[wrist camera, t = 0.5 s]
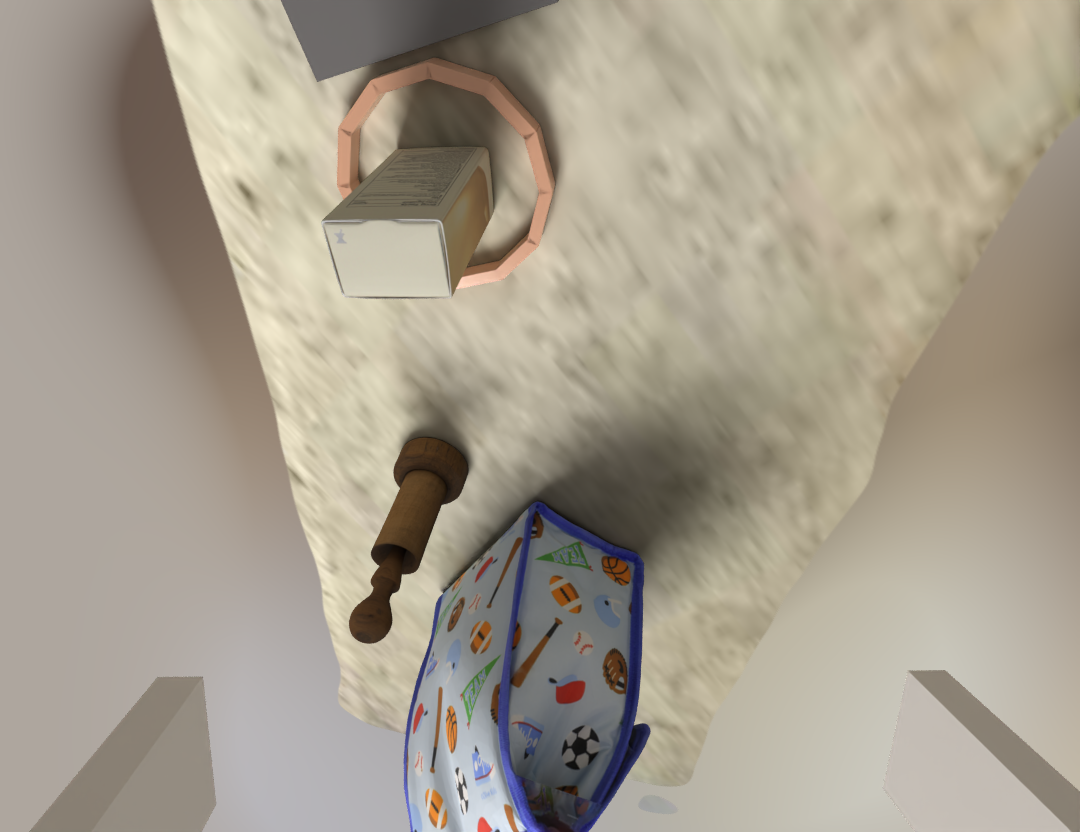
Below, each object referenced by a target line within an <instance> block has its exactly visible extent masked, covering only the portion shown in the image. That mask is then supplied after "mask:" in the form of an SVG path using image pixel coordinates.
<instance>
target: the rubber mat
mask: <svg viewBox="0 0 1080 832" xmlns="http://www.w3.org/2000/svg"><path fill="white" fill-rule="evenodd" d="M558 1H559V0H281V2H282V4H283V6H284V9H285V11H286V13H287V15H288V17H289V20H290V22H291V24H292V26H293V29H294V31H295V33H296V35H297V38H298V40H299V42H300V44H301V46H302V49H303V51H304V53H305V55H306V58H307V60H308V62H309V64H310V67H311V69H312V71H313V73H314V75H315V78H316V80H317V82H318V81H321V80H324V79H327V78H330V77H333V76H336V75H340V74H343V73H346V72H349V71H352V70H355V69H358V68H361V67H364V66H367V65H370V64H373V63H376V62H379V61H382V60H385V59H388V58H391V57H394V56H397V55H400V54H403V53H406V52H409V51H412V50H415V49H418V48H421V47H424V46H427V45H430V44H433V43H436V42H439V41H442V40H445V39H448V38H451V37H454V36H457V35H460V34H463V33H466V32H469V31H472V30H475V29H478V28H481V27H484V26H487V25H490V24H493V23H496V22H499V21H502V20H505V19H508V18H511V17H514V16H517V15H520V14H523V13H526V12H529V11H532V10H535V9H538V8H541V7H544V6H547V5H550V4H553V3H556V2H558Z"/></svg>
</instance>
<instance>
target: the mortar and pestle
mask: <svg viewBox="0 0 1080 832" xmlns="http://www.w3.org/2000/svg"><path fill="white" fill-rule="evenodd" d="M467 475H468V466H467V463H466V461H465V459H464V458H463V456H462V454H461V453H460V452H459V451H458V450H457V449H455V448H454V447H453V446H451V445H450V444H448V443H446V442H443V441H441V440H438V439H434V438H417V439H413V440H411V441H409V442H408V443H406V444H405V446H404V447H403V448H402V450H401V452H400V455H399V457H398V459H397V461H396V464H395V466H394V478H395V481H396V483H397V485H398V486H399V487H400V490H399V492H398V494H397V497H396V499H395V501H394V503H393V506H392V508H391V510H390V512H389V514H388V516H387V519H386V521H385V523H384V525H383V527H382V529H381V532H380V534H379V536H378V538H377V540H376V542H375V544H374V546H373V549H372V551H371V556H372V559H373V560H374V562H375V563H376V564H377V565H379V566H380V567H379V568H378V569H377V570H376V572H375V573H374V575H373V577H372V578H371V584H372V586H373V587H374V588H373V592H372V593H371V595H370V596H369V597H367V598H366V599H365V600H363V601H362V602H361V603H360V604H358V605H357V606H356V607H355V609H354V610H353V612H352V614H351V616H350V620H349V628H350V632H351V634H352V636H353V637H354V638H355V639H357V640H358V641H360V642H362V643H368V644H370V643H376V642H378V641H380V640H382V639H383V638H384V637H385V636H386V635H387V634H388V632H389V630H390V628H391V626H392V612H391V607H390V602H389V600H390V597H391V595H392V593H396V592H397V591H398V590H399V588H400V584H401V577H402V574H411V573H414V572H416V571H417V569H418V568H419V565H420V563H421V560H422V557H423V554H424V551H425V548H426V545H427V543H428V540H429V537H430V534H431V532H432V529H433V526H434V524H435V521H436V518H437V516H438V513H439V511H440V508H441V505H443V504H448V503H450V502H452V501H454V500H455V499H457V498H458V497H459V495H460V494H461V492H462V489H463V487H464V484H465V481H466V478H467Z"/></svg>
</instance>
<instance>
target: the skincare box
mask: <svg viewBox="0 0 1080 832" xmlns="http://www.w3.org/2000/svg"><path fill="white" fill-rule="evenodd" d="M493 212H494V208H493V193H492V180H491V170H490V159H489V152H488V149H487V148H485V147H431V148H411V149H397V150H395V151H394V152H393V153H392V154H391V155H390V156H389V157H388V158H387V159H386V160H385V161H384V162H383V163H382V164H381V165H380V166H379V167H377V168H376V169H375V170H374V171H373V172H372V173H371V174H370V175H369V176H368V177H367V178H366V179H365V180H364V181H363V182H362V183H361V184H360V185H359V186H358V187H357V188H356V189H354V190H353V191H352V192H351V193H350V194H349V195H348V196H347V197H346V198H345V199H344V200H343V201H342V202H341V203H340V204H339V205H338V206H337V207H336V208H335V209H334V210H333V211H332V212H331V213H329V214H328V215H327V216H326V217H325V218H324V219H323V220H322V222H321V223H322V227H323V231H324V234H325V238H326V242H327V245H328V249H329V253H330V256H331V260H332V263H333V267H334V270H335V274H336V277H337V280H338V283H339V285H340V289H341V292H342V295H343V296H344V297H349V298H365V299H439V298H451V297H452V296H453V294H454V292H455V290H456V288H457V286H458V284H459V282H460V280H461V278H462V276H463V274H464V271H465V269H466V268H467V265H468V263H469V261H470V259H471V257H472V255H473V253H474V251H475V249H476V247H477V245H478V243H479V241H480V239H481V237H482V235H483V233H484V231H485V229H486V227H487V225H488V223H489V221H490V219H491V217H492V215H493Z"/></svg>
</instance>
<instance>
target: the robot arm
mask: <svg viewBox="0 0 1080 832" xmlns="http://www.w3.org/2000/svg"><path fill="white" fill-rule="evenodd" d="M883 789H884V791H885V792H886V793H887V795H888V796H889V797H890V799H891V800H892V801H893V803H894V804H895V805H896V807H897V808H898V809H899V811H900V812H901V813H902V815H903V816H904V818H905V819H906V820H907V821H908V823H909V824H910V826H911V827H912V828H913V830H914V831H915V832H1080V791H1079V790H1078V789H1076V788H1075V787H1074V786H1073V785H1072V784H1071V783H1070V782H1069V781H1067V780H1066V779H1065V778H1064V777H1063V776H1062V775H1061V774H1060V773H1059V772H1058V771H1056V770H1055V769H1054V768H1053V767H1052V766H1051V765H1050V764H1049V763H1048V762H1046V761H1045V760H1044V759H1043V758H1042V757H1041V756H1040V755H1039V754H1038V753H1036V752H1035V751H1034V750H1033V749H1032V748H1031V747H1030V746H1029V745H1027V744H1026V743H1025V742H1024V741H1023V740H1022V739H1021V738H1020V737H1019V736H1018V735H1016V734H1015V733H1014V732H1013V731H1012V730H1011V729H1010V728H1009V727H1007V726H1006V725H1005V724H1004V723H1003V722H1002V721H1001V720H1000V719H999V718H998V717H996V716H995V715H994V714H993V713H992V712H991V711H990V710H989V709H988V708H986V707H985V706H984V705H983V704H982V703H981V702H980V701H979V700H978V699H976V698H975V697H974V696H973V695H972V694H971V693H970V692H969V691H968V690H966V689H965V688H964V687H963V686H962V685H961V684H960V683H959V682H958V681H956V680H955V679H954V678H953V677H952V676H951V675H950V674H949V673H948V672H946V671H945V670H938V671H937V670H933V671H931V670H929V671H908V672H907V677H906V681H905V686H904V691H903V696H902V701H901V705H900V710H899V715H898V719H897V724H896V729H895V733H894V738H893V743H892V748H891V752H890V757H889V762H888V766H887V771H886V776H885V781H884V785H883ZM215 806H216V798H215V788H214V779H213V769H212V760H211V750H210V740H209V731H208V721H207V712H206V702H205V692H204V683H203V677H157V678H156V680H155V681H154V682H153V683H152V685H151V686H150V687H149V688H148V689H147V691H146V692H145V693H144V694H143V695H142V697H141V698H140V699H139V700H138V701H137V703H136V704H135V705H134V706H133V707H132V709H131V710H130V711H129V712H128V713H127V715H126V716H125V717H124V718H123V719H122V721H121V722H120V723H119V724H118V725H117V727H116V728H115V729H114V731H113V732H112V733H111V734H110V735H109V736H108V738H107V739H106V740H105V741H104V742H103V744H102V745H101V746H100V747H99V748H98V750H97V751H96V752H95V753H94V754H93V756H92V757H91V758H90V759H89V760H88V762H87V763H86V764H85V765H84V767H83V768H82V769H81V770H80V771H79V772H78V774H77V775H76V776H75V777H74V778H73V780H72V781H71V782H70V784H69V785H68V786H67V787H66V788H65V790H64V791H63V792H62V793H61V794H60V795H59V797H58V798H57V799H56V800H55V801H54V803H53V804H52V805H51V806H50V807H49V809H48V810H47V811H46V812H45V813H44V815H43V816H42V817H41V818H40V819H39V821H38V822H37V823H36V824H35V825H34V827H33V828H32V829H31V830H30V832H202V830H203V828H204V826H205V824H206V822H207V821H208V819H209V817H210V815H211V813H212V811H213V809H214V807H215Z"/></svg>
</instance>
